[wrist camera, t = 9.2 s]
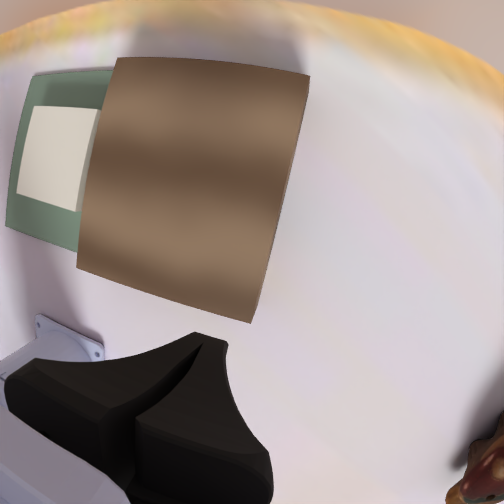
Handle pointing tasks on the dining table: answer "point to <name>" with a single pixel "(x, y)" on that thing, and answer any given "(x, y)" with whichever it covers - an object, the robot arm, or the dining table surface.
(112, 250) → the walnut step
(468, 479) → the decorative turtle
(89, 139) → the coaster
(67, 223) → the rubber mat
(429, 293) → the dining table surface
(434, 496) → the dining table surface
